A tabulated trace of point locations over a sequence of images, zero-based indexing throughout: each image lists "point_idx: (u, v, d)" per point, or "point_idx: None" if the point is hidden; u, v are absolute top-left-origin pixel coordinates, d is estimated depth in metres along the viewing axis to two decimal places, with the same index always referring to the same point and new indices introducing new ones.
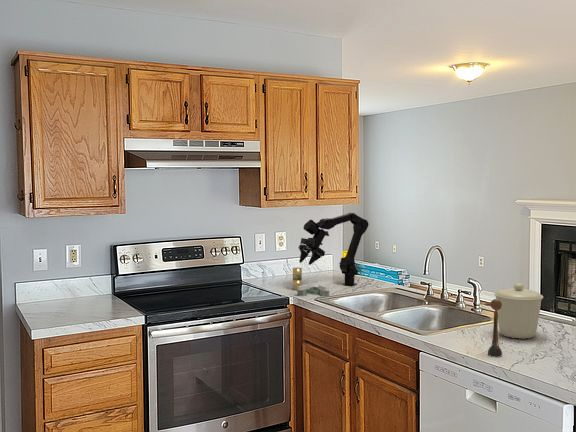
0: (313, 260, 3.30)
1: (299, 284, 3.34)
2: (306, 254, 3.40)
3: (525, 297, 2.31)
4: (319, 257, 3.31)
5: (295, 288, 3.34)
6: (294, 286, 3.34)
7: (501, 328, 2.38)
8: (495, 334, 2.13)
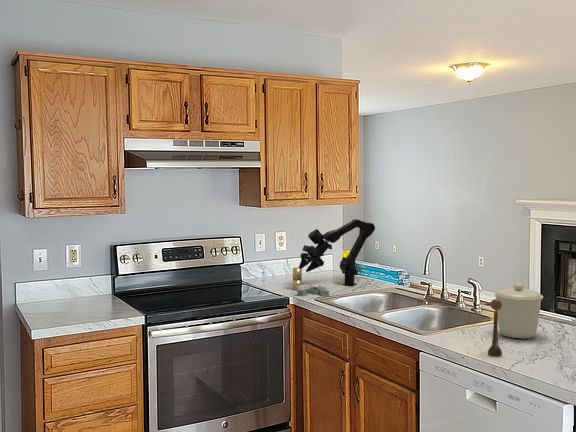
0: (311, 268, 3.33)
1: (299, 284, 3.34)
2: (306, 263, 3.43)
3: (525, 297, 2.31)
4: (317, 266, 3.33)
5: (295, 288, 3.34)
6: (294, 286, 3.34)
7: (501, 328, 2.38)
8: (495, 334, 2.13)
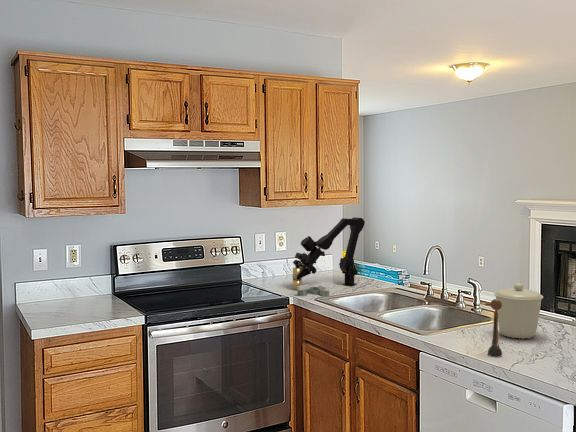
0: (302, 275, 3.33)
1: (299, 284, 3.34)
2: None
3: (525, 297, 2.31)
4: (308, 273, 3.33)
5: (295, 288, 3.34)
6: (294, 286, 3.34)
7: (501, 328, 2.38)
8: (495, 334, 2.13)
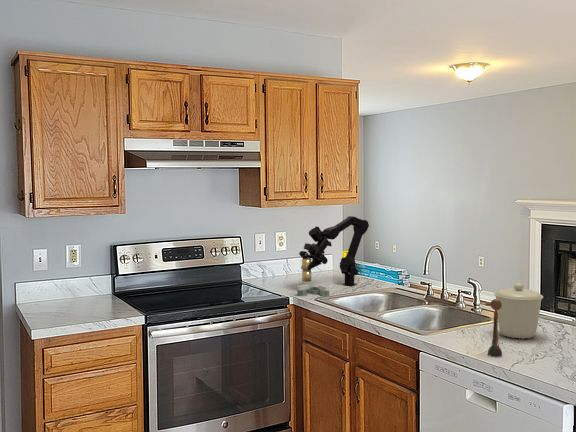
0: (312, 266, 3.28)
1: (309, 275, 3.29)
2: None
3: (525, 297, 2.31)
4: (319, 264, 3.29)
5: (306, 279, 3.28)
6: (304, 277, 3.29)
7: (501, 328, 2.38)
8: (495, 334, 2.13)
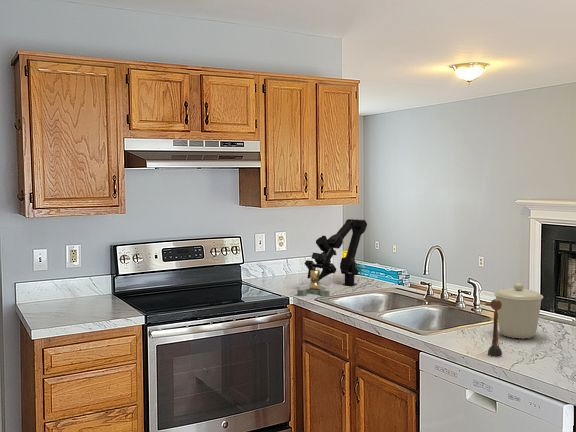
0: (323, 276, 3.25)
1: None
2: None
3: (525, 297, 2.31)
4: (328, 273, 3.27)
5: None
6: (313, 289, 3.26)
7: (501, 328, 2.38)
8: (495, 334, 2.13)
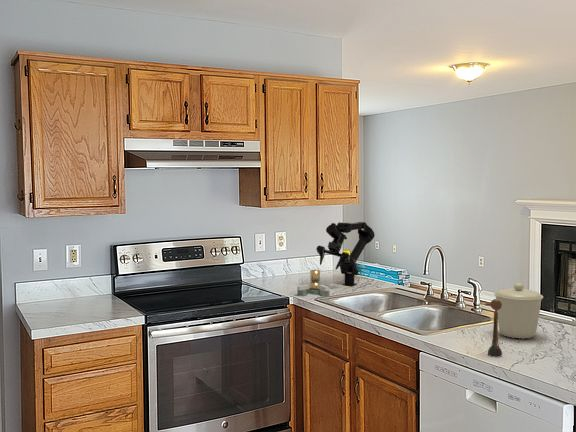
0: (339, 265, 3.34)
1: None
2: (323, 256, 3.39)
3: (525, 297, 2.31)
4: (343, 262, 3.36)
5: None
6: (313, 289, 3.26)
7: (501, 328, 2.38)
8: (495, 334, 2.13)
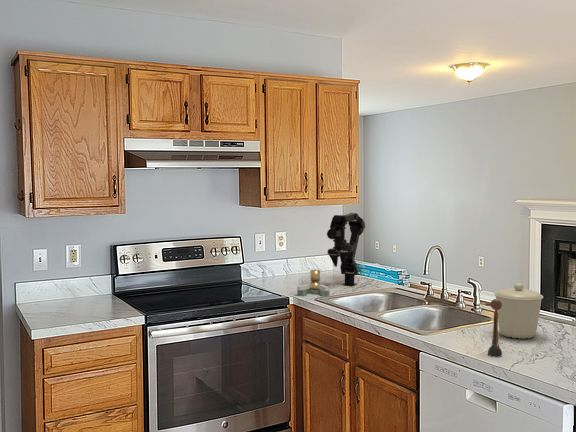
0: None
1: None
2: None
3: (525, 297, 2.31)
4: None
5: None
6: (313, 289, 3.26)
7: (501, 328, 2.38)
8: (495, 334, 2.13)
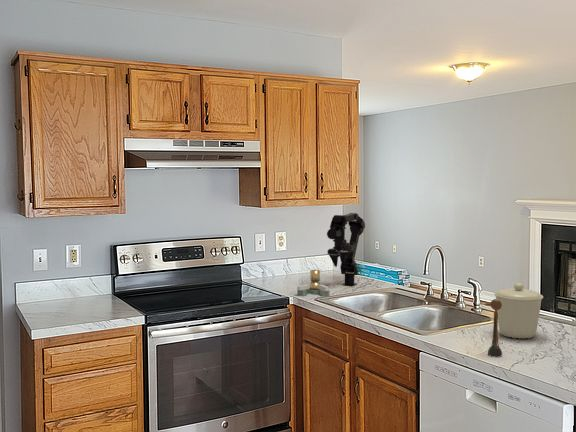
0: None
1: None
2: None
3: (525, 297, 2.31)
4: None
5: None
6: (313, 289, 3.26)
7: (501, 328, 2.38)
8: (495, 334, 2.13)
